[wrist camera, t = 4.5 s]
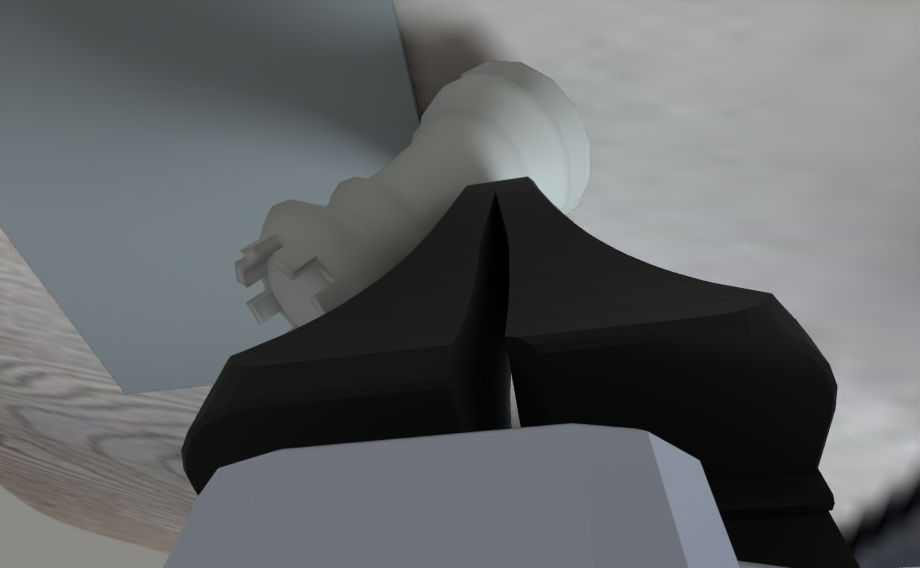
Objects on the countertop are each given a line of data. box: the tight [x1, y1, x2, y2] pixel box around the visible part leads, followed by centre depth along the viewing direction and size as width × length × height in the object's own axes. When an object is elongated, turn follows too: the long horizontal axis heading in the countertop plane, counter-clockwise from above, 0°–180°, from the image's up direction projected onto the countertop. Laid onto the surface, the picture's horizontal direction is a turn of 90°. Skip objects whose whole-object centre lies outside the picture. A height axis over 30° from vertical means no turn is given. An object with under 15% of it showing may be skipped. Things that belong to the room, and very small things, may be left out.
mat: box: [0, 0, 421, 394], centre depth 17 cm, size 16×14×1 cm
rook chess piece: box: [235, 61, 590, 334], centre depth 12 cm, size 4×4×8 cm
